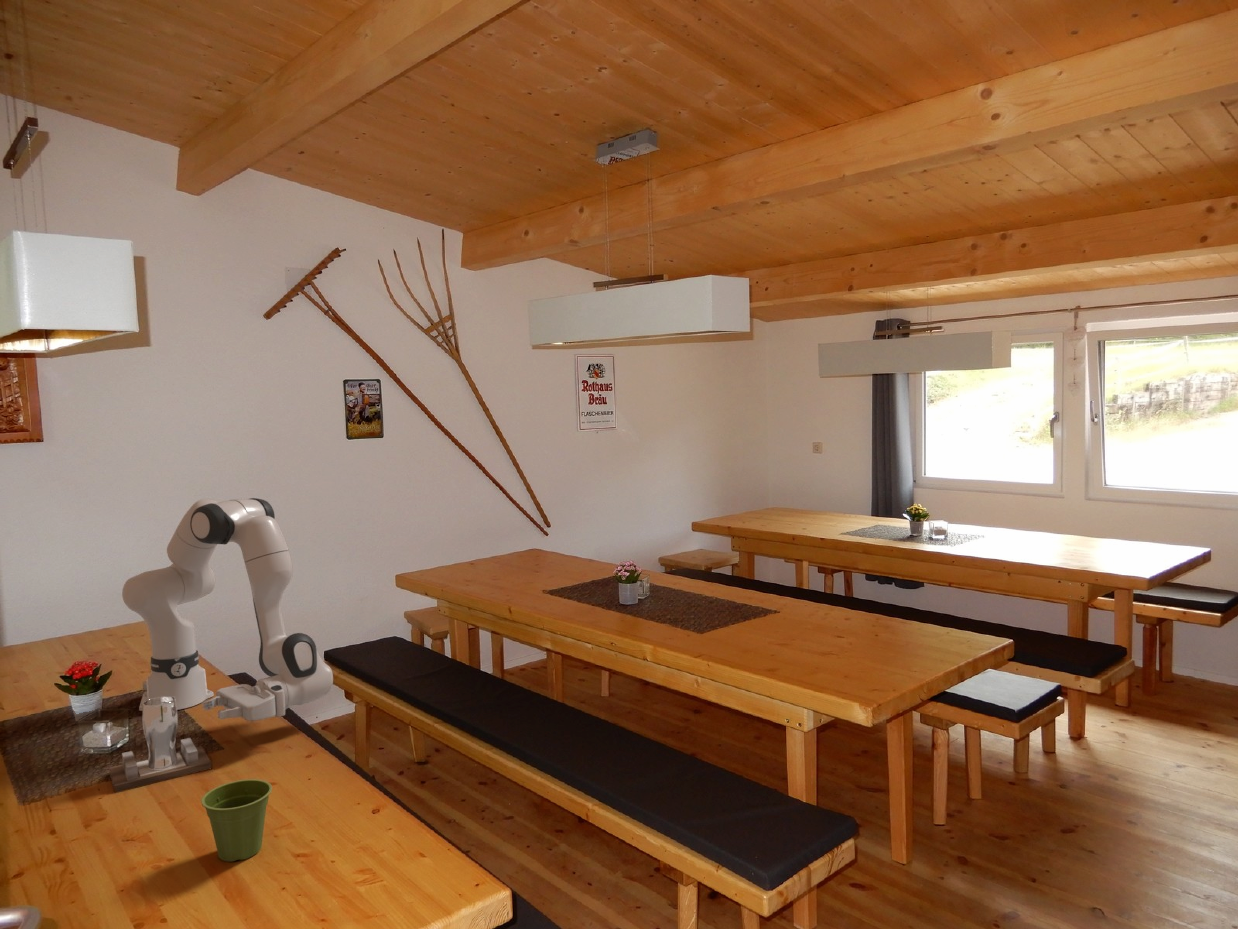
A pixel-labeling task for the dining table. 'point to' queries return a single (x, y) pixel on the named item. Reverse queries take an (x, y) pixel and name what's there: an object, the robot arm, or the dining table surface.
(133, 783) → the rail board
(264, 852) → the dining table surface
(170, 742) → the beer glass
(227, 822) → the plant pot
